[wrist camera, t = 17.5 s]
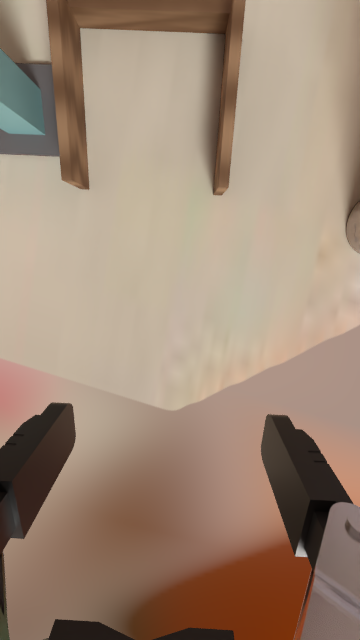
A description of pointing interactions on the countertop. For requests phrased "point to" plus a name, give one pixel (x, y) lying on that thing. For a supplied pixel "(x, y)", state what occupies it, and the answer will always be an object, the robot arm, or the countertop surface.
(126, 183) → the countertop surface
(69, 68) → the lane
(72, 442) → the robot arm
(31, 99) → the teal block
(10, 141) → the pad
